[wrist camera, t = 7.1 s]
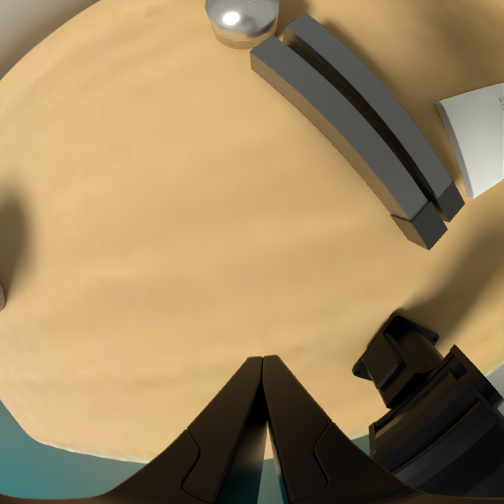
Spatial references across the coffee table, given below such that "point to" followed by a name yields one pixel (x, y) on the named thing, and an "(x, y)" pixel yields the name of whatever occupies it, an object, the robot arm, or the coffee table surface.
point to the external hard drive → (476, 135)
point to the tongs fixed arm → (376, 110)
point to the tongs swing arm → (326, 112)
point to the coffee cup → (1, 298)
